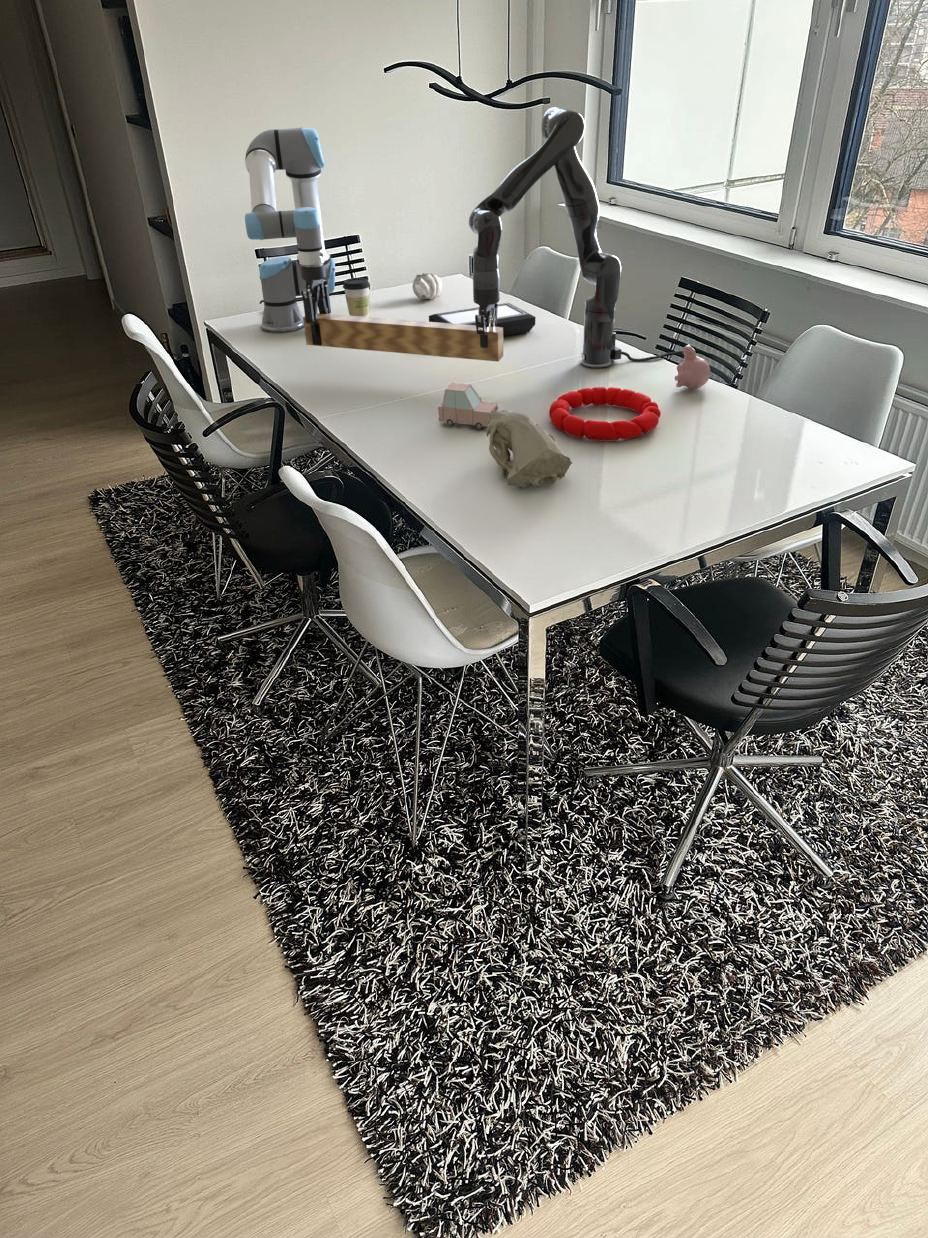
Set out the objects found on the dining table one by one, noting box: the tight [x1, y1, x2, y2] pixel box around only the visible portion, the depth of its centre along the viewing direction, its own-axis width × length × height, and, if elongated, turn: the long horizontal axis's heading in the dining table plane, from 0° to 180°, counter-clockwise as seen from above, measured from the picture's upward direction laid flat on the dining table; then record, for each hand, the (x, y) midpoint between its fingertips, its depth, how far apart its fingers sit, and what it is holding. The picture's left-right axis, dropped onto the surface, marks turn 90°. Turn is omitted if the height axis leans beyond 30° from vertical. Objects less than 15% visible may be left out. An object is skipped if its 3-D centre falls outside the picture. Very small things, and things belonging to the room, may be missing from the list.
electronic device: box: [428, 302, 537, 337], centre depth 312 cm, size 32×6×20 cm
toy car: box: [437, 382, 499, 431], centre depth 243 cm, size 9×15×10 cm, turn 70°
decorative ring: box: [548, 386, 661, 442], centre depth 242 cm, size 7×30×30 cm
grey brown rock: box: [485, 409, 573, 489], centre depth 216 cm, size 17×25×20 cm
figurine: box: [674, 344, 711, 390], centre depth 259 cm, size 9×11×12 cm
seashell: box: [411, 272, 443, 300], centre depth 348 cm, size 10×15×10 cm
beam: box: [303, 312, 504, 363], centre depth 270 cm, size 64×5×9 cm, turn 70°
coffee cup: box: [342, 277, 371, 317], centre depth 323 cm, size 10×10×15 cm
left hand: (321, 341), depth 281 cm, fingers closed on beam, 5 cm apart
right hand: (487, 344), depth 262 cm, fingers closed on beam, 5 cm apart
